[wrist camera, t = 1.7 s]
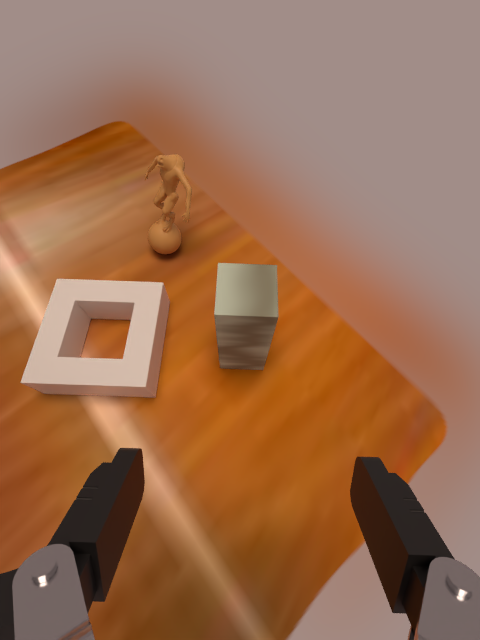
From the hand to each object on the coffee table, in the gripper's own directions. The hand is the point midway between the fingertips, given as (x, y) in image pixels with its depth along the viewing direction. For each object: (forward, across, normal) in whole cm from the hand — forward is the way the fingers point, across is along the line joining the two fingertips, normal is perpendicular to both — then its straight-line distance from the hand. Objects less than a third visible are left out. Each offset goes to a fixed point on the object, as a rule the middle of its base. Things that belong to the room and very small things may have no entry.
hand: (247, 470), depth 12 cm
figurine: (+32, +9, -6) cm, 33 cm away
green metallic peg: (+22, 0, +4) cm, 22 cm away
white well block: (+22, +14, +4) cm, 26 cm away
